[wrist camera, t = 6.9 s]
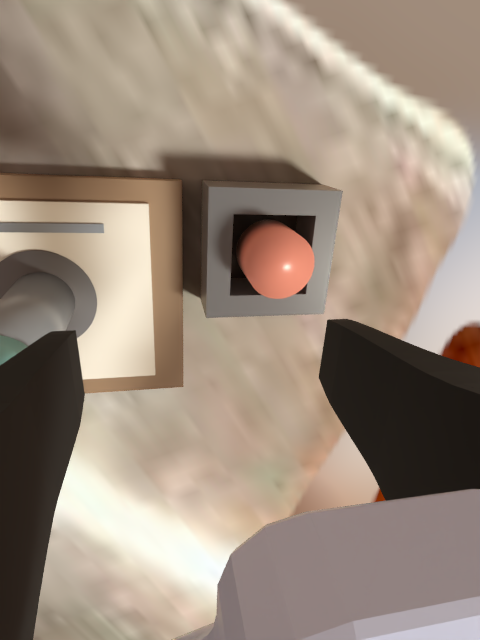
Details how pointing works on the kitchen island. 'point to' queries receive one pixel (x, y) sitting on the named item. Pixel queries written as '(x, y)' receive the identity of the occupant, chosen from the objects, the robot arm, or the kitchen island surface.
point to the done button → (275, 259)
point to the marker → (33, 311)
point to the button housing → (264, 199)
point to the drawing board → (104, 268)
